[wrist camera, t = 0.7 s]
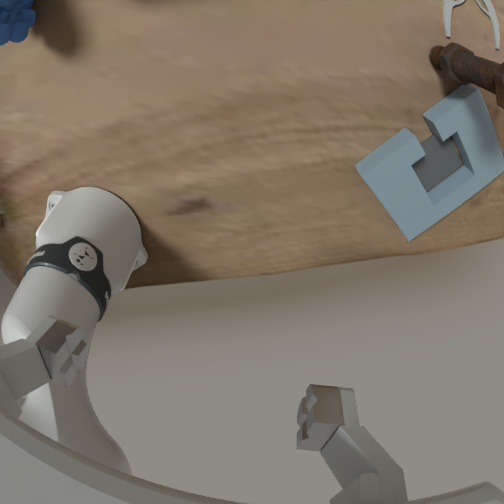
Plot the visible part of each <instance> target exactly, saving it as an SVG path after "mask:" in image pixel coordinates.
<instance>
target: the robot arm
mask: <svg viewBox="0 0 504 504" xmlns="http://www.w3.org/2000/svg"><path fill="white" fill-rule="evenodd" d="M36 236H37V238H36V252H35V253H34V255H33V256H32V257H31V258H30V260H29V261H28V263H27V264H28V265H27V266H26V268H25V270H24V275H23V280H22V282H21V283H20V285H19V287H18V289H17V291H16V292H15V294H14V296H13V298H12V300H11V302H10V304H9V306H8V308H7V310H6V312H5V314H4V316H3V319H2V326H1V329H2V338H3V341H4V344H5V345H2V346H0V504H247V503H239V502H233V501H227V500H222V499H216V498H211V497H206V496H202V495H197V494H193V493H188V492H184V491H181V490H177V489H173V488H170V487H166V486H163V485H159V484H156V483H153V482H150V481H147V480H144V479H141V478H138V477H135V476H132V473H131V469H130V466H129V463H128V460H127V458H126V456H125V454H124V452H123V451H122V449H121V448H120V446H119V445H118V444H117V442H116V441H115V440H114V439H113V438H112V437H111V436H110V435H109V434H108V433H107V431H106V430H105V429H104V427H103V426H102V424H101V423H100V421H99V420H98V418H97V416H96V414H95V412H94V410H93V407H92V404H91V402H90V398H89V395H88V390H87V383H86V368H87V360H88V355H89V350H90V346H91V342H92V338H93V335H94V331H95V328H96V325H97V323H98V322H99V321H100V320H101V319H102V317H103V315H104V313H105V311H106V310H107V307H108V304H109V300H110V299H111V298H112V297H113V296H114V295H115V294H119V293H120V291H123V290H124V288H125V286H126V284H127V282H128V279H129V277H130V275H131V272H132V271H134V270H135V269H137V268H139V267H140V266H142V265H143V264H145V263H146V261H147V259H148V254H147V251H146V250H145V248H144V246H143V244H142V240H141V229H140V225H139V222H138V220H137V218H136V216H135V215H134V213H133V212H132V210H131V209H130V208H129V207H128V206H127V204H125V203H124V202H123V201H122V200H121V199H120V198H118V197H117V196H115V195H114V194H112V193H110V192H108V191H105V190H103V189H99V188H95V187H81V188H77V189H74V190H72V191H68V192H65V191H53V192H52V193H51V194H50V196H49V197H48V202H47V209H46V216H45V219H44V221H43V222H42V224H41V225H40V227H39V228H38V230H37V232H36ZM27 394H28V395H27ZM25 395H27V398H21V397H23V396H25ZM297 423H298V425H299V426H300V429H299V430H298V432H297V449H303V450H312V451H320V453H321V455H322V456H323V458H324V460H325V461H326V463H327V464H328V466H329V468H330V469H331V471H332V473H333V474H334V476H335V477H336V479H337V480H338V482H339V484H340V485H341V487H342V488H343V490H342V491H340V492H339V493H338V494H336V495H335V496H334V497H333V498H331V499H330V504H504V492H503V491H501V490H500V489H499V488H498V487H496V486H495V485H493V484H492V483H490V482H482V483H478V484H475V485H472V486H469V487H466V488H463V489H459V490H456V491H452V492H448V493H444V494H440V495H436V496H431V497H426V498H421V499H416V500H411V501H408V498H407V492H406V485H405V480H404V474H403V469H402V468H401V467H400V466H399V465H398V464H397V463H396V462H395V461H394V460H393V458H391V456H390V455H389V454H388V453H387V452H386V451H385V450H384V448H383V447H382V446H381V445H380V444H379V443H378V442H377V441H376V440H375V438H374V437H373V436H372V435H371V434H370V433H369V432H368V431H367V430H366V428H365V427H364V426H360V424H359V418H358V412H357V406H356V400H355V394H354V390H353V389H352V388H342V387H333V386H323V385H314V384H310V385H309V386H308V388H307V390H306V397H304V398H302V400H301V402H300V405H299V409H298V414H297Z"/></svg>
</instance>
